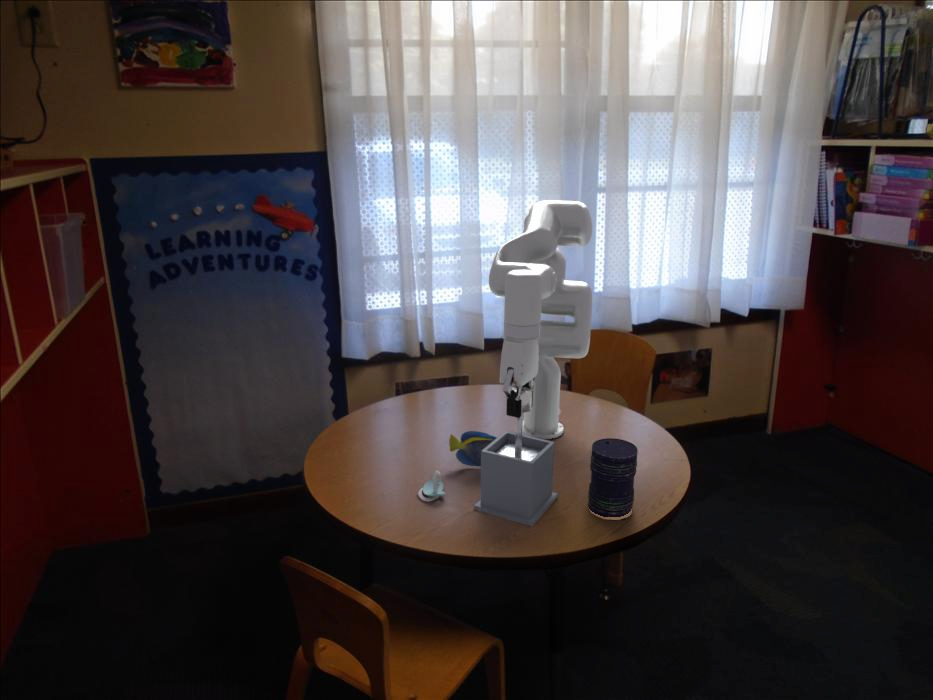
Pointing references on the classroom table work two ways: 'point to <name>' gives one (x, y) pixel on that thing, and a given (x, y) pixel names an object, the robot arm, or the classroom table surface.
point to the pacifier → (432, 488)
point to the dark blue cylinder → (612, 477)
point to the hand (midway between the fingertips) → (519, 410)
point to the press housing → (517, 481)
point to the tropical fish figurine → (470, 446)
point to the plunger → (520, 431)
